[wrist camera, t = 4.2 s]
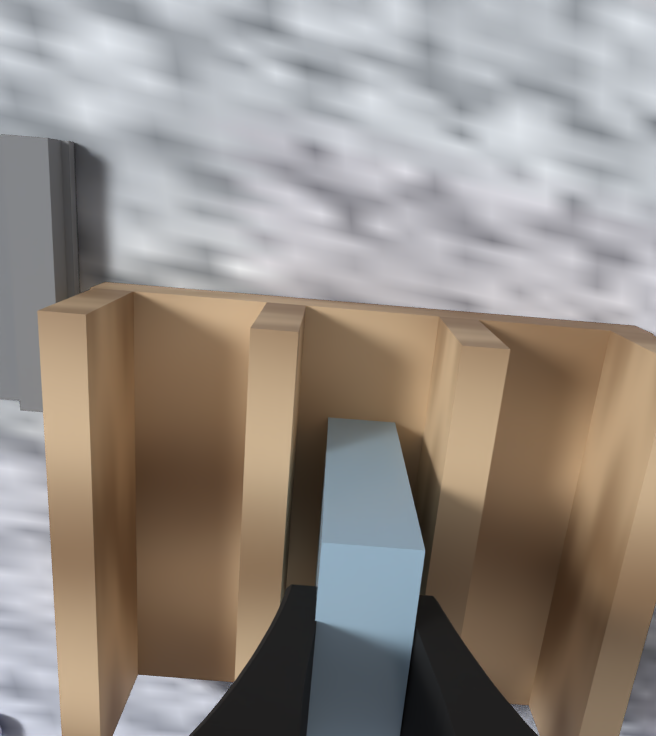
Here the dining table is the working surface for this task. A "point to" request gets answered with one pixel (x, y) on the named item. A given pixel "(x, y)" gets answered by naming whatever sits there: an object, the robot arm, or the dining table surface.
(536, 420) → the rack
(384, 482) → the plate
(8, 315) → the holder
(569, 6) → the dining table surface
